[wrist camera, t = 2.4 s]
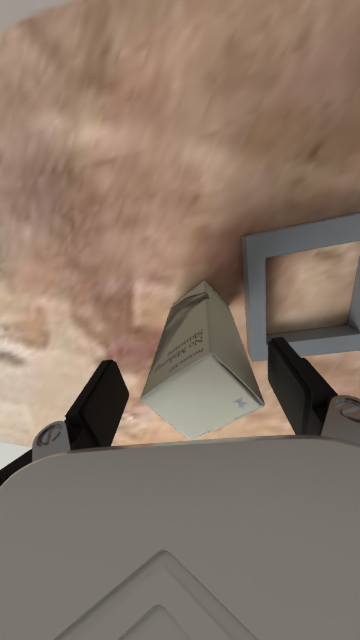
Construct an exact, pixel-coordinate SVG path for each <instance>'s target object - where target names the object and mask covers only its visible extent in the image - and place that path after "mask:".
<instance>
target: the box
mask: <svg viewBox="0 0 360 640" xmlns="http://www.w3.org/2000/svg"><path fill="white" fill-rule="evenodd" d="M140 400H141V402H143V403H144V404H145V405H147V406H148V407H149V408H151V409H152V410H153V411H154V412H156V413H157V414H158V415H159V416H160V417H162V418H163V419H164V420H165V421H167V422H168V423H169V424H170V425H171V426H173V427H174V428H175V429H177V430H178V431H179V432H180V433H182V434H183V435H184V436H186V437H187V438H188V439H195V438H197V437H199V436H202V435H204V434H206V433H209V432H211V431H213V430H215V429H218V428H221V427H224V426H226V425H228V424H230V423H231V422H232V421H234V420H236V419H239V418H241V417H243V416H245V415H247V414H249V413H251V412H253V411H255V410H258V409H260V408H262V407H264V405H265V404H264V401H263V398H262V395H261V393H260V390H259V387H258V384H257V382H256V379H255V376H254V374H253V371H252V368H251V366H250V363H249V360H248V357H247V355H246V352H245V349H244V346H243V344H242V341H241V338H240V335H239V333H238V330H237V327H236V324H235V322H234V319H233V316H232V314H231V311H230V309H229V307H228V305H227V304H226V303H225V302H224V301H223V299H222V298H221V297H220V296H219V295H218V294H217V293H216V291H215V290H214V289H213V288H212V287H211V286H210V285H209V284H208V283H207V282H206V281H205V280H204V281H202V282H201V283H200V284H198V285H197V286H196V287H195V288H193V289H192V290H191V291H189V292H188V293H187V294H186V295H185V296H183V297H182V298H181V299H180V300H179V301H178V302H177V303H175V304H174V305H173V306H172V307H171V309H170V312H169V315H168V318H167V321H166V324H165V327H164V330H163V333H162V336H161V339H160V342H159V345H158V348H157V351H156V355H155V358H154V360H153V364H152V367H151V370H150V372H149V375H148V378H147V381H146V384H145V387H144V390H143V393H142V395H141V398H140Z"/></svg>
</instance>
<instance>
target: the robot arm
mask: <svg viewBox="0 0 360 640" xmlns="http://www.w3.org/2000/svg"><path fill="white" fill-rule="evenodd" d="M268 380H269V383H270V385H271V387H272V389H273V391H274V393H275V395H276V397H277V399H278V401H279V403H280V405H281V407H282V409H283V411H284V413H285V415H286V417H287V419H288V421H289V422H290V424H291V426H292V428H293V430H294V432H295V434H296V435H277V436H255V437H239V438H223V439H208V440H193V441H178V442H164V443H149V444H136V445H123V446H111V444H112V441H113V438H114V436H115V433H116V430H117V428H118V425H119V422H120V420H121V417H122V414H123V412H124V409H125V406H126V403H127V401H128V398H129V392H128V389H127V387H126V385H125V382H124V380H123V378H122V375H121V373H120V370H119V368H118V366H117V363H116V362H115V361H113V360H105V361H102V362H101V364H100V365H99V366H98V368H97V369H96V371H95V372H94V374H93V375H92V377H91V378H90V380H89V381H88V383H87V384H86V386H85V387H84V389H83V390H82V392H81V393H80V395H79V396H78V398H77V399H76V401H75V402H74V404H73V405H72V406H71V408H70V409H69V411H68V412H67V414H66V415H65V417H66V420H65V421H64V422H63V421H57V422H53V423H51V424H49V425H48V426H46V427H45V428H44V429H43V430H41V431H40V432H39V434H38V435H37V436H36V437H35V439H34V441H33V445H32V449H31V450H29V451H28V452H26V453H25V454H23V455H22V456H21V457H19V458H18V459H16V460H14V461H13V462H11V463H10V464H8V465H7V466H6V467H4V468H3V469H1V470H0V640H360V399H359V398H356V397H353V396H348V395H339V396H338V394H337V393H336V392H335V391H334V390H333V389H332V388H331V386H330V385H329V384H328V383H327V382H326V381H325V380H324V379H323V377H322V376H321V375H320V374H319V373H318V372H317V371H316V370H315V368H314V367H313V366H312V365H311V364H310V363H309V362H308V360H306V359H305V358H301V357H300V356H299V355H298V354H297V353H296V352H295V350H294V349H293V348H292V347H291V346H290V345H289V343H288V342H287V341H286V340H285V339H284V338H283V337H276V338H272V339H271V341H268Z"/></svg>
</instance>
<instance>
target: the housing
mask: <svg viewBox="0 0 360 640" xmlns="http://www.w3.org/2000/svg"><path fill="white" fill-rule="evenodd" d="M241 241H242V258H243V275H244V293H245V310H246V327H247V345H248V353H249V355H250V358H251V360H252V362H255V361H264V360H268V341H271V339H272V338H276V337H283V338H284V339H285V340H286V341H287V342H288V343H289V345H290V346H291V347H292V348H293V349H294V350H295V352H296V353H297V354H298V355H299V356H300V357H302V356H312V355H321V354H331V353H340V352H349V351H359V350H360V258H359V263H358V269H357V274H356V279H355V285H354V290H353V295H352V301H351V306H350V311H349V317H348V322H347V325H341V326H333V327H325V328H317V329H309V330H301V331H293V332H286V333H278V334H270V335H266V268H265V258H268V257H273V256H279V255H284V254H290V253H295V252H301V251H306V250H311V249H317V248H322V247H328V246H333V245H339V244H344V243H349V242H355V241H360V212H357V213H353V214H348V215H343V216H338V217H333V218H328V219H323V220H318V221H313V222H309V223H304V224H299V225H294V226H289V227H284V228H279V229H274V230H269V231H265V232H260V233H255V234H250V235H245V236H241Z"/></svg>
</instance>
